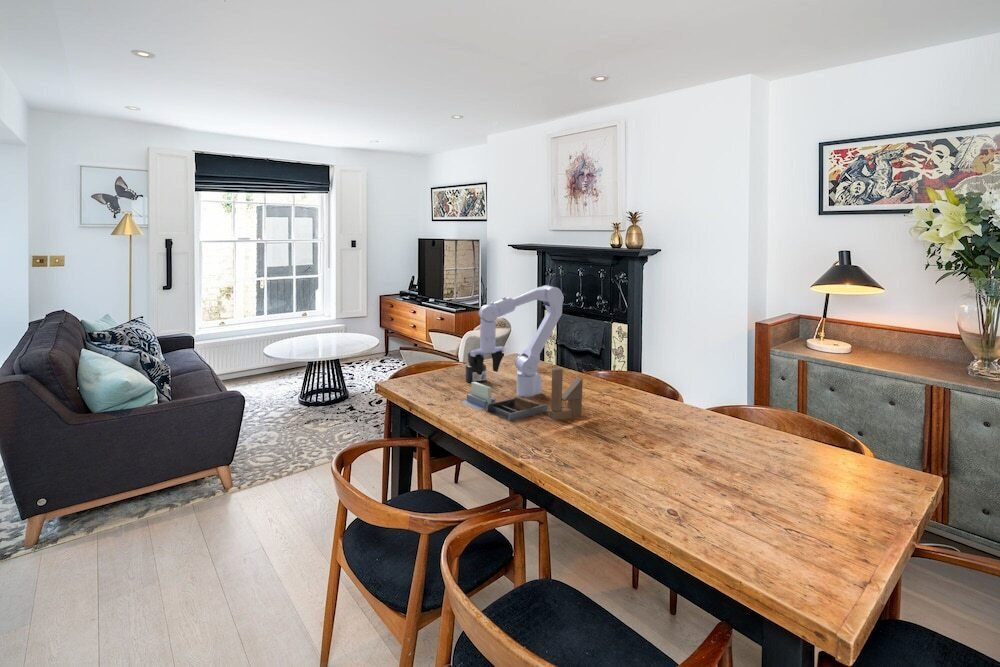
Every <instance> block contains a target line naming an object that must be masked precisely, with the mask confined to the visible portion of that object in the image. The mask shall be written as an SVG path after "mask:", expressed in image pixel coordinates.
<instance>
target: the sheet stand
mask: <svg viewBox="0 0 1000 667" xmlns="http://www.w3.org/2000/svg"><path fill="white" fill-rule="evenodd" d="M495 402H496V398H493V397H491V403H495ZM459 403H461V404H464V405H466V406H468V407H470V408H473V409H475V410H478V411H483V410H486V404H487V401H486V400H483V399H480V398H478V397H475V396H473V395H471V394H470V393H467V394H466V400H462V401H459Z"/></svg>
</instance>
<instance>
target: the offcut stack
mask: <svg viewBox="0 0 1000 667" xmlns="http://www.w3.org/2000/svg"><path fill="white" fill-rule="evenodd" d="M514 398H515V408H518V409H520V410H525V409H529V408H532V407H536V406H540V403H539V402H537V401H533V400H530V399H528V398H526V397H525V398H521V397H520V396H514Z"/></svg>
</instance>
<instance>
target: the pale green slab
mask: <svg viewBox="0 0 1000 667" xmlns="http://www.w3.org/2000/svg"><path fill="white" fill-rule="evenodd" d="M470 384H471V387H470V388H471V392H470V393H471V394H470V395H473V396H475V397H478V398H480V399H483V400H486V401H487V404H491V398H492V387H491V386H488V385H485V384H483V383H477V382H471V383H470Z"/></svg>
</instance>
